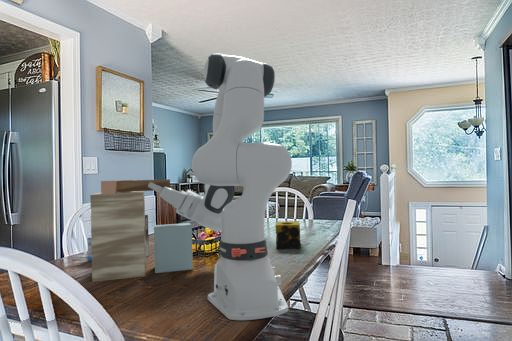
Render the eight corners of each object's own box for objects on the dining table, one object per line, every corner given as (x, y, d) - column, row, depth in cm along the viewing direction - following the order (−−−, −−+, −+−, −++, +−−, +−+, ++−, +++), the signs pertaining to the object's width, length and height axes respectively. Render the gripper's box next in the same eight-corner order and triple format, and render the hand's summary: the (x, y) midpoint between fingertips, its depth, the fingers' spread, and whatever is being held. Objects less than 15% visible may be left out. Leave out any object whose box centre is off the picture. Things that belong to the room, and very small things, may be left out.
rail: (170, 189, 115) (170, 179, 115) (108, 192, 109) (108, 181, 109) (169, 189, 118) (169, 179, 118) (109, 191, 112) (109, 181, 112)
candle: (300, 244, 150) (299, 220, 150) (301, 249, 140) (300, 224, 140) (276, 244, 151) (276, 221, 151) (275, 249, 141) (275, 224, 141)
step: (192, 269, 114) (191, 226, 114) (155, 273, 111) (154, 228, 111) (190, 263, 122) (189, 223, 122) (155, 266, 118) (154, 225, 118)
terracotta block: (115, 193, 105) (115, 180, 105) (101, 194, 104) (100, 181, 104) (116, 193, 109) (116, 180, 109) (103, 193, 108) (102, 180, 108)
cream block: (132, 191, 116) (132, 179, 116) (120, 192, 114) (120, 180, 114) (130, 191, 119) (129, 179, 119) (118, 192, 117) (118, 180, 117)
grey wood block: (145, 276, 107) (143, 192, 108) (92, 281, 103) (90, 194, 103) (146, 265, 120) (144, 190, 120) (99, 270, 116) (97, 192, 116)
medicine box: (87, 260, 129) (86, 237, 129) (97, 258, 133) (97, 235, 133) (101, 263, 126) (100, 239, 126) (111, 260, 130) (111, 237, 130)
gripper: (187, 193, 128) (153, 175, 125) (193, 196, 108) (153, 175, 105) (179, 208, 127) (144, 191, 124) (184, 214, 107) (143, 193, 104)
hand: (148, 183), depth 114 cm, fingers closed on rail, 3 cm apart
